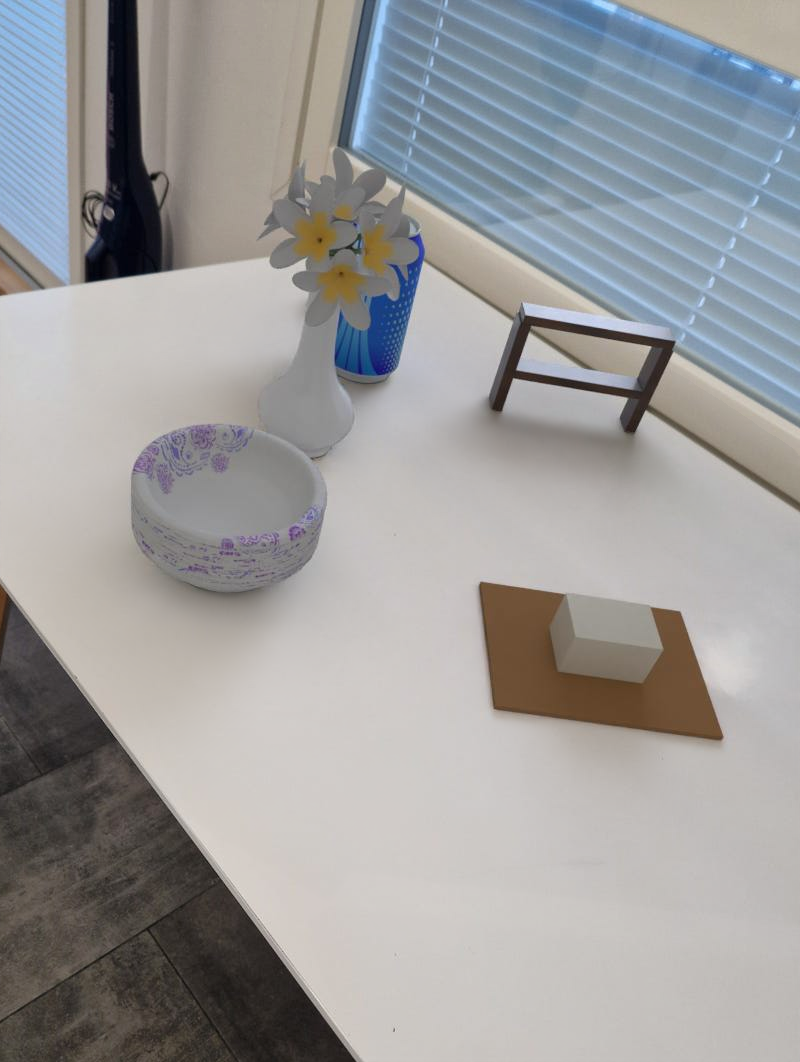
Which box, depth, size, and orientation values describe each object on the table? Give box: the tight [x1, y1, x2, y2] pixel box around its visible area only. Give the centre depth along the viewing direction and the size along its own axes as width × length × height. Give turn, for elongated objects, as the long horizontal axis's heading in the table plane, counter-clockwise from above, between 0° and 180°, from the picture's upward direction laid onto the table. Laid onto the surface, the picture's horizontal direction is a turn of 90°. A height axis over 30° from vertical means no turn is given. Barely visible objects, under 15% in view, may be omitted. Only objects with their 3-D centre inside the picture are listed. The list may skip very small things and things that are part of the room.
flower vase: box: [255, 147, 419, 459], centre depth 79 cm, size 13×18×25 cm
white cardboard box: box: [549, 592, 663, 683], centre depth 71 cm, size 7×5×4 cm
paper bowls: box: [130, 423, 328, 593], centre depth 72 cm, size 15×15×8 cm
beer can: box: [335, 212, 426, 384], centre depth 94 cm, size 8×8×16 cm
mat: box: [479, 581, 724, 741], centre depth 73 cm, size 18×14×1 cm
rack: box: [488, 301, 677, 434], centre depth 96 cm, size 16×3×11 cm, turn 87°
